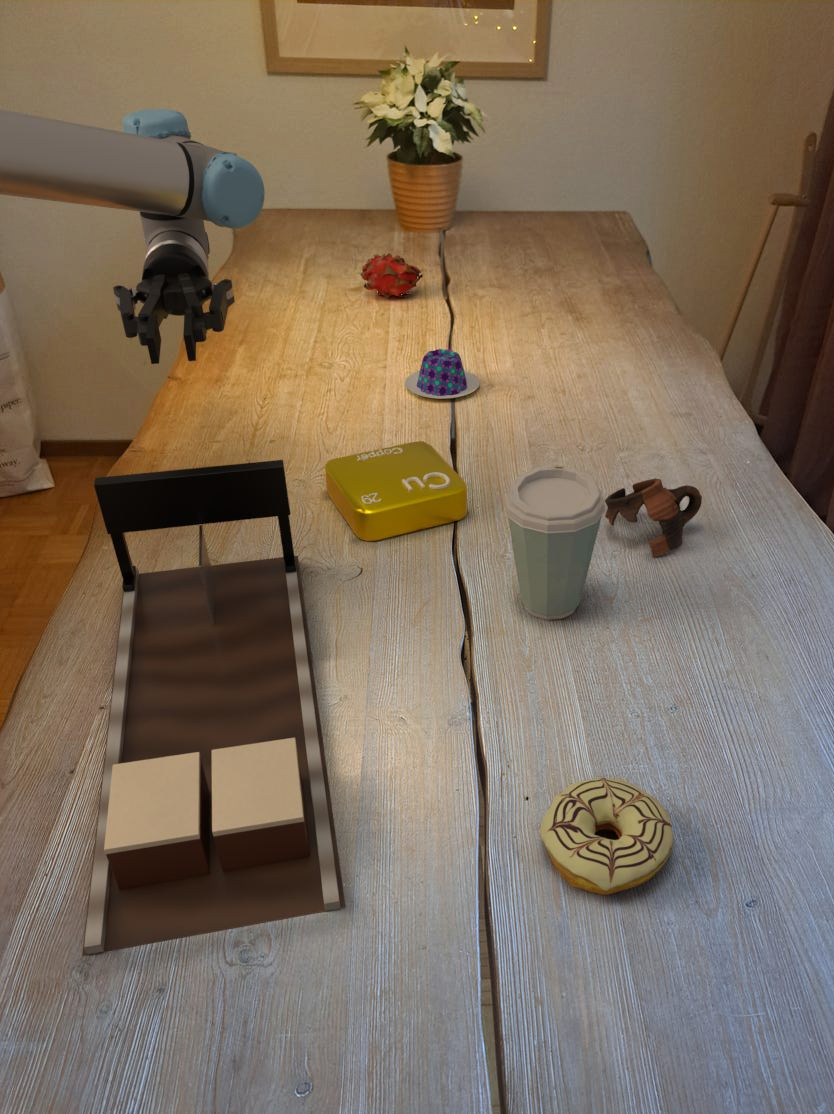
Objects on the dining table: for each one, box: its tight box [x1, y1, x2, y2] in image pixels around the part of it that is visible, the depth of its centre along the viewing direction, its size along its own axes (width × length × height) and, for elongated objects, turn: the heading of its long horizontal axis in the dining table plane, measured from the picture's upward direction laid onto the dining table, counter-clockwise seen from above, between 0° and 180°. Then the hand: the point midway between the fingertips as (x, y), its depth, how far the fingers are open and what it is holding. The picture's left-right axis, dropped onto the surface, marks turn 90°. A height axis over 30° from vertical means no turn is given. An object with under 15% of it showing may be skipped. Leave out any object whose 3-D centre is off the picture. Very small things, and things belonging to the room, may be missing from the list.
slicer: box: [93, 459, 296, 624], centre depth 100 cm, size 11×19×14 cm, turn 103°
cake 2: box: [212, 738, 310, 871], centre depth 78 cm, size 9×7×5 cm
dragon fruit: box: [360, 252, 423, 299], centre depth 181 cm, size 8×8×12 cm
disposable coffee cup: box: [502, 465, 606, 621], centre depth 101 cm, size 11×11×15 cm
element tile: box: [324, 440, 468, 542], centre depth 121 cm, size 15×15×5 cm
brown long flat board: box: [81, 555, 346, 957], centre depth 90 cm, size 50×20×2 cm, turn 13°
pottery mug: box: [604, 478, 703, 558], centre depth 116 cm, size 12×10×8 cm
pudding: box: [404, 348, 481, 400], centre depth 149 cm, size 12×12×5 cm
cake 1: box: [104, 752, 210, 889], centre depth 77 cm, size 9×7×5 cm
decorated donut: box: [539, 777, 674, 896], centre depth 78 cm, size 10×11×4 cm
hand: (171, 349), depth 95 cm, fingers open, 3 cm apart
